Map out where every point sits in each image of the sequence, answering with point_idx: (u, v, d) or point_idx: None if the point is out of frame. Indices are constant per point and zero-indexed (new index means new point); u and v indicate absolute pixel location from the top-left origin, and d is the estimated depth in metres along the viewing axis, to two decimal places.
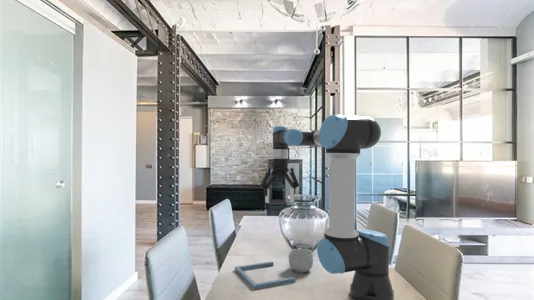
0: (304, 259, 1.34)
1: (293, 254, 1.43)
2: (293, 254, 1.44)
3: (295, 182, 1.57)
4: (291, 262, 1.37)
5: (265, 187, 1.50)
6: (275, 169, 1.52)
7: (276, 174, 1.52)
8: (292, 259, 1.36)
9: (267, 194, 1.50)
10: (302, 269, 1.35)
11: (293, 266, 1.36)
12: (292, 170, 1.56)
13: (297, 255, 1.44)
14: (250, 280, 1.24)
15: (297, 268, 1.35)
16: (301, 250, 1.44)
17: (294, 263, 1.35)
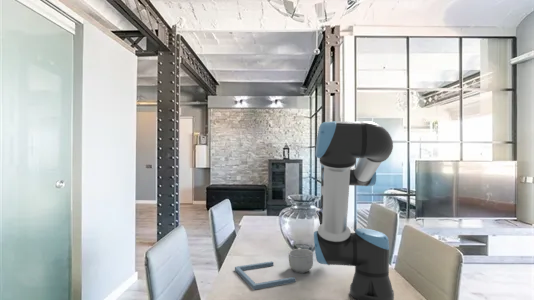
0: (304, 259, 1.34)
1: (293, 254, 1.43)
2: (293, 254, 1.44)
3: None
4: (291, 262, 1.37)
5: None
6: None
7: None
8: (292, 259, 1.36)
9: None
10: (302, 269, 1.35)
11: (293, 266, 1.36)
12: None
13: (297, 255, 1.44)
14: (250, 280, 1.24)
15: (297, 268, 1.35)
16: (301, 250, 1.44)
17: (294, 263, 1.35)
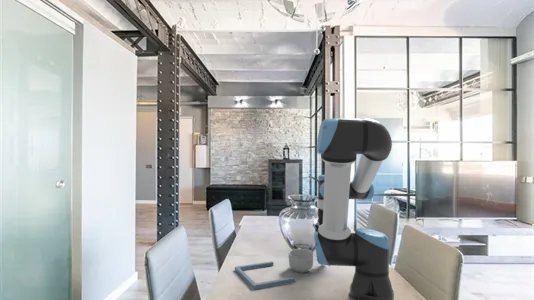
0: (304, 259, 1.34)
1: (293, 254, 1.43)
2: (293, 254, 1.44)
3: None
4: (291, 262, 1.37)
5: None
6: (321, 221, 1.44)
7: None
8: (292, 259, 1.36)
9: None
10: (302, 269, 1.35)
11: (293, 266, 1.36)
12: None
13: (297, 255, 1.44)
14: (250, 280, 1.24)
15: (297, 268, 1.35)
16: (301, 250, 1.44)
17: (294, 263, 1.35)
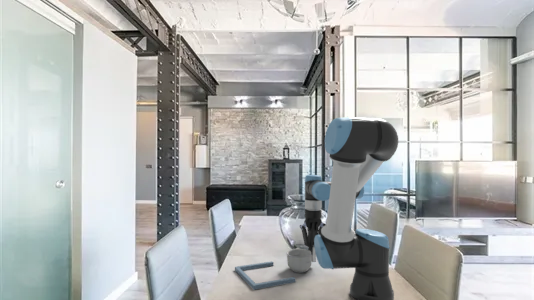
0: (302, 259, 1.34)
1: (291, 254, 1.43)
2: (292, 254, 1.43)
3: None
4: (289, 262, 1.36)
5: (310, 246, 1.42)
6: (308, 222, 1.42)
7: (312, 228, 1.42)
8: (290, 259, 1.36)
9: (312, 253, 1.43)
10: (300, 269, 1.34)
11: (291, 266, 1.36)
12: (324, 226, 1.45)
13: (295, 255, 1.44)
14: (250, 280, 1.24)
15: (295, 268, 1.35)
16: (299, 250, 1.44)
17: (292, 263, 1.35)
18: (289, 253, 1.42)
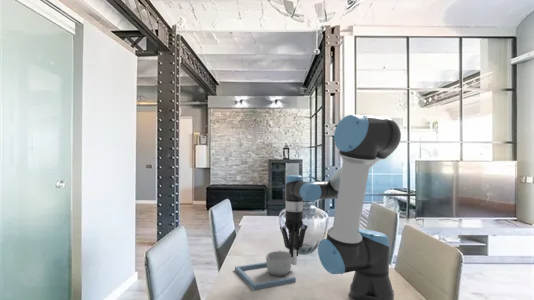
0: (280, 262, 1.30)
1: (272, 256, 1.40)
2: (272, 257, 1.40)
3: (300, 241, 1.40)
4: (268, 265, 1.33)
5: (291, 249, 1.38)
6: (288, 224, 1.38)
7: (292, 230, 1.38)
8: (268, 262, 1.32)
9: (293, 255, 1.39)
10: (278, 272, 1.31)
11: (269, 269, 1.32)
12: (305, 228, 1.41)
13: (276, 257, 1.40)
14: (250, 280, 1.24)
15: (273, 271, 1.31)
16: (280, 252, 1.40)
17: (270, 266, 1.32)
18: (269, 255, 1.39)
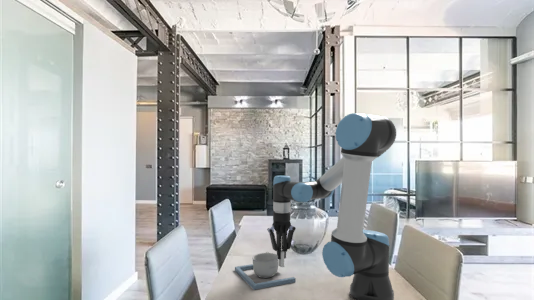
0: (266, 264, 1.28)
1: (259, 258, 1.37)
2: (259, 258, 1.37)
3: (288, 243, 1.38)
4: (254, 266, 1.31)
5: (278, 251, 1.35)
6: (275, 225, 1.35)
7: (280, 232, 1.35)
8: (254, 263, 1.30)
9: (281, 257, 1.36)
10: (264, 274, 1.28)
11: (255, 271, 1.30)
12: (293, 229, 1.38)
13: (264, 259, 1.38)
14: (250, 280, 1.24)
15: (259, 273, 1.29)
16: (268, 254, 1.38)
17: (256, 268, 1.29)
18: (256, 257, 1.36)
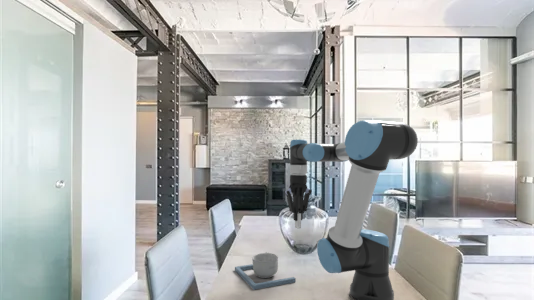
0: (266, 264, 1.28)
1: (259, 258, 1.37)
2: (259, 258, 1.37)
3: (304, 205, 1.41)
4: (254, 267, 1.31)
5: (295, 212, 1.39)
6: (292, 187, 1.38)
7: (297, 194, 1.38)
8: (254, 264, 1.30)
9: (297, 219, 1.39)
10: (264, 274, 1.28)
11: (255, 271, 1.30)
12: (309, 192, 1.42)
13: (264, 259, 1.38)
14: (250, 280, 1.24)
15: (259, 273, 1.29)
16: (268, 254, 1.38)
17: (256, 268, 1.29)
18: (256, 257, 1.36)
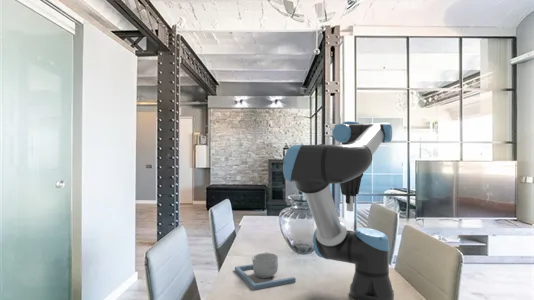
0: (266, 264, 1.28)
1: (259, 258, 1.37)
2: (259, 258, 1.37)
3: (356, 188, 1.39)
4: (254, 267, 1.31)
5: (348, 195, 1.37)
6: None
7: None
8: (254, 263, 1.30)
9: (350, 202, 1.38)
10: (264, 274, 1.28)
11: (255, 271, 1.30)
12: (361, 175, 1.40)
13: (264, 259, 1.38)
14: (250, 280, 1.24)
15: (259, 273, 1.29)
16: (268, 254, 1.38)
17: (256, 268, 1.29)
18: (256, 257, 1.36)
